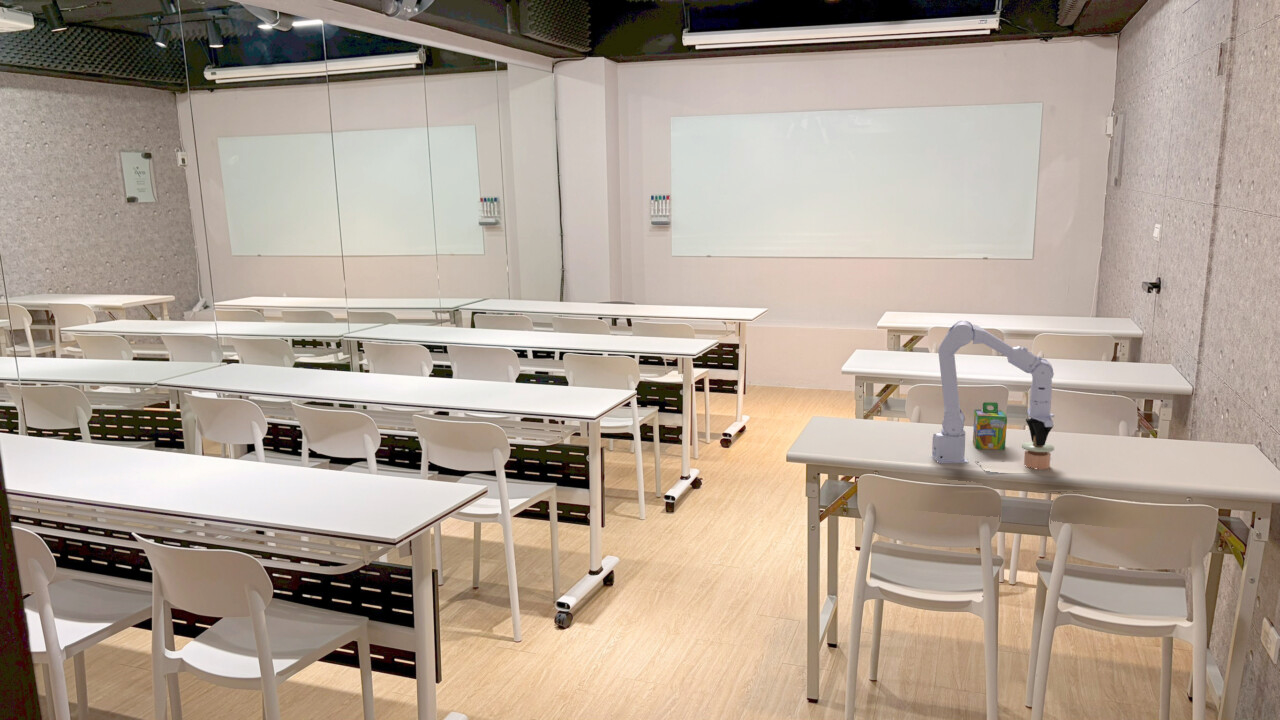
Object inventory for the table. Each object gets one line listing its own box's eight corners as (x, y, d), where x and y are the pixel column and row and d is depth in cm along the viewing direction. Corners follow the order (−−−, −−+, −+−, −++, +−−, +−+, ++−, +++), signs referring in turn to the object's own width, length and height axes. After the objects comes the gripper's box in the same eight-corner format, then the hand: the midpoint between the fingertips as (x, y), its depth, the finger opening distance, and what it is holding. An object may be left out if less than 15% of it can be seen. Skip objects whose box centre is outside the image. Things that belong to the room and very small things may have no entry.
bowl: (1029, 470, 258) (1030, 456, 257) (1020, 463, 265) (1021, 449, 264) (1053, 470, 258) (1054, 456, 257) (1043, 463, 265) (1044, 449, 264)
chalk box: (975, 450, 280) (977, 406, 277) (972, 442, 289) (973, 399, 286) (1006, 451, 278) (1008, 407, 275) (1001, 443, 287) (1003, 400, 284)
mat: (987, 475, 256) (987, 473, 256) (974, 462, 268) (974, 461, 267) (1028, 474, 255) (1029, 473, 255) (1013, 462, 267) (1014, 460, 267)
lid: (1028, 452, 256) (1029, 440, 255) (1016, 443, 265) (1017, 432, 264) (1059, 452, 256) (1060, 440, 255) (1046, 443, 265) (1047, 432, 264)
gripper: (1064, 406, 250) (1061, 450, 253) (1044, 394, 264) (1042, 436, 267) (1039, 406, 251) (1037, 451, 253) (1021, 394, 265) (1018, 437, 267)
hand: (1038, 443), depth 260 cm, fingers closed on lid, 3 cm apart
